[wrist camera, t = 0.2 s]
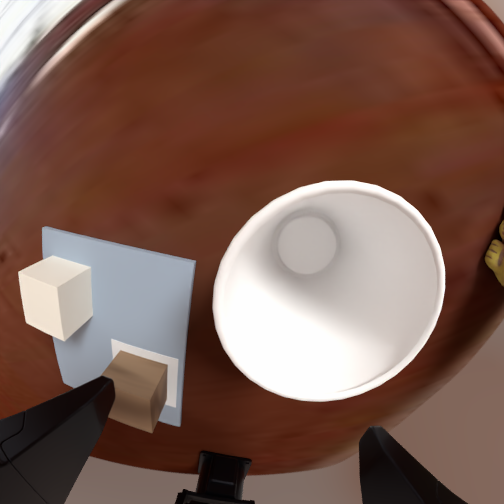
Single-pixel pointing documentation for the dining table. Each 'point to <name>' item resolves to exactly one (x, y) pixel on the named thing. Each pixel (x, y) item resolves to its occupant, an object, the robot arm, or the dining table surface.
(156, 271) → the mat
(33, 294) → the cream block
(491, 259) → the figurine
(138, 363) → the walnut block
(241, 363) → the cup
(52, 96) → the dining table surface
